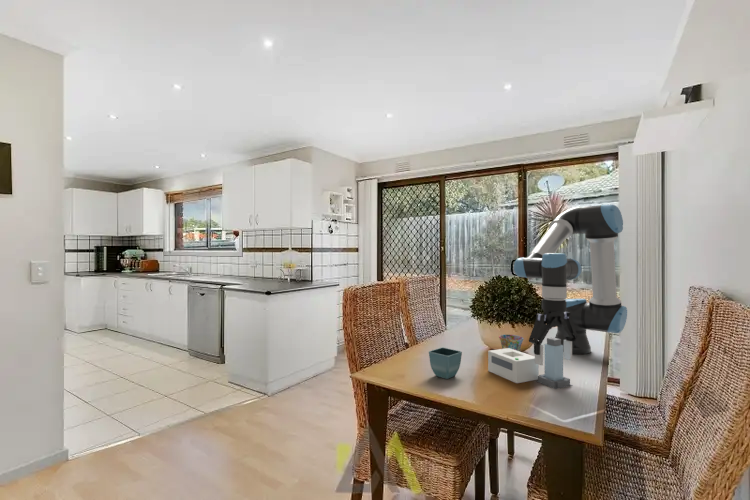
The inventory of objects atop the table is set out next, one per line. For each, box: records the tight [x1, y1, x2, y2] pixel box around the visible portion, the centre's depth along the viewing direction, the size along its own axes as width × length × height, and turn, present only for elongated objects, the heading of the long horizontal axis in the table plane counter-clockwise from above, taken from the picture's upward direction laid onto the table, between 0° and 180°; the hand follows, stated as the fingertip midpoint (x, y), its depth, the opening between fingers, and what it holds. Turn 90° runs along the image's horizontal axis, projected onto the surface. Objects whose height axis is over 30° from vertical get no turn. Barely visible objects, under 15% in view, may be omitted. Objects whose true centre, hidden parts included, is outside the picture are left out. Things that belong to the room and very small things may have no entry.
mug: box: [498, 334, 525, 352], centre depth 149 cm, size 12×9×11 cm
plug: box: [544, 336, 564, 381], centre depth 124 cm, size 4×4×15 cm
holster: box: [535, 373, 573, 390], centre depth 124 cm, size 8×8×2 cm
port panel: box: [487, 348, 540, 384], centre depth 132 cm, size 10×14×8 cm
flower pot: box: [428, 347, 463, 380], centre depth 133 cm, size 9×9×9 cm
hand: (553, 361), depth 124 cm, fingers open, 13 cm apart
